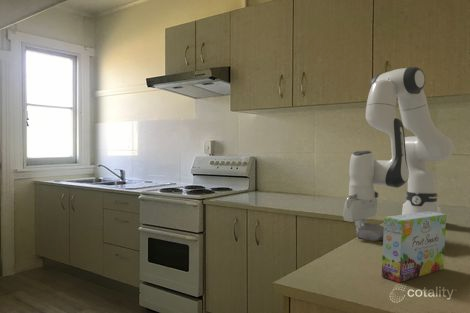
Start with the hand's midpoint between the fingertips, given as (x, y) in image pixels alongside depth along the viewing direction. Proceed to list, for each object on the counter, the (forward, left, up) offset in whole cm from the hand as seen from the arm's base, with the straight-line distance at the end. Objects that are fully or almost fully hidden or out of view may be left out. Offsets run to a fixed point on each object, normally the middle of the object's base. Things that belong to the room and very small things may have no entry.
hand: (360, 230), depth 143 cm
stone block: (0, +6, -2) cm, 6 cm away
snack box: (+33, +31, -2) cm, 46 cm away
